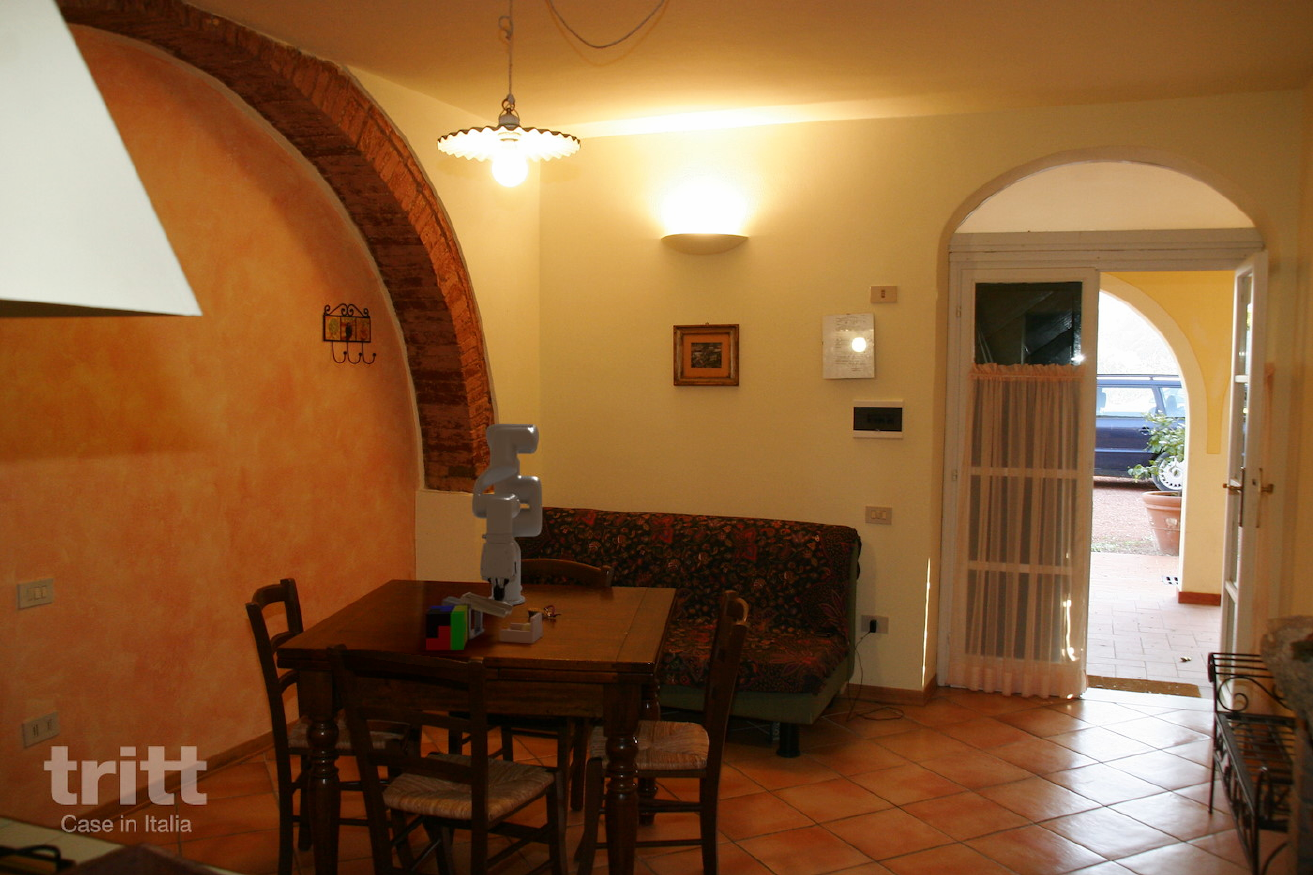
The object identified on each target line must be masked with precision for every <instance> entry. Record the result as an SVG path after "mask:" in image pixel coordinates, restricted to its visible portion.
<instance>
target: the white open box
mask: <svg viewBox="0 0 1313 875" xmlns="http://www.w3.org/2000/svg"><path fill="white" fill-rule="evenodd" d="M529 623H530V631H522V627H523V625H524V624H525V623H518V622H510V623H509V627H508V628H507V629H503V628H502V629H499V642H505V643H506V642H507V643H520V644H522V643H523V644H532V645H533V644H534V643H535V642H536V641H538V640H540V639H541V638H542V637H543V636H544V634H543V632H544V629H543V628H544V625H543V612H537V613H536V614H534V615H533V616H531V617H530V619H529ZM540 637H541V638H540Z"/></svg>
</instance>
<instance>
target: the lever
mask: <svg viewBox="0 0 1313 875" xmlns="http://www.w3.org/2000/svg"><path fill="white" fill-rule="evenodd" d="M464 603H469V604H471V611H473V610H478V611H481V612H482V613H486V614H488V615H493V616H496V617H499V618H503V619H505V618H506V617H509V615H511V614H512V613H513V608H514V605H510V604H507V602H504V601H503V600H502V601H496V600H493V599H489V598H488V597H485V596H482V595H477V594H475V593H472V592H471V591H468V592H467V593H464V594H462V595H461V597H460V598H457V597H454V596H448V597H446V598H443V599H442V600H441V606H463V604H464Z"/></svg>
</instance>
